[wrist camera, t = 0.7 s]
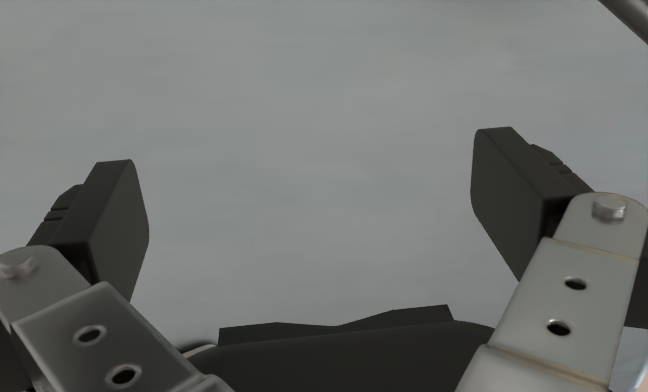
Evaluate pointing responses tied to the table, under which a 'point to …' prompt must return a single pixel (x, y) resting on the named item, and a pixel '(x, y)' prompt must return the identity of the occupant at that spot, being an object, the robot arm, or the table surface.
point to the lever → (631, 15)
